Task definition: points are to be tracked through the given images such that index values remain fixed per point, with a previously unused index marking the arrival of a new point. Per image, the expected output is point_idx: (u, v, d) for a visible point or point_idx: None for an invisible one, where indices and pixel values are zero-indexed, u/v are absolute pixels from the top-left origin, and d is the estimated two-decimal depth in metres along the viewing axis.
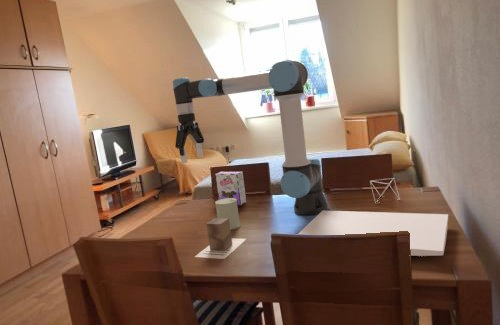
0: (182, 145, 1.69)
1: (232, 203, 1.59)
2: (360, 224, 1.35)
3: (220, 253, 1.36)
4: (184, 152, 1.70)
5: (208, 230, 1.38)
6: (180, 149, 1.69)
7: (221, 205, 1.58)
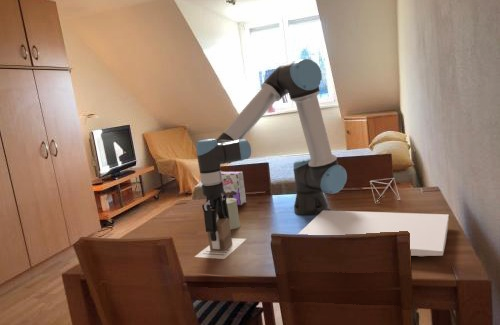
0: (214, 229, 1.35)
1: (232, 203, 1.59)
2: (360, 224, 1.35)
3: (220, 253, 1.36)
4: (216, 236, 1.36)
5: None
6: (212, 233, 1.36)
7: None
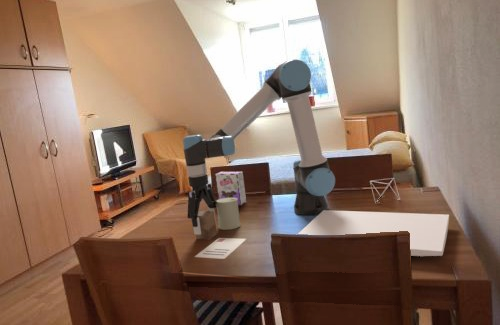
0: (195, 215, 1.46)
1: (233, 202, 1.59)
2: (360, 224, 1.35)
3: (220, 253, 1.36)
4: (197, 223, 1.48)
5: None
6: (193, 220, 1.47)
7: (222, 203, 1.59)
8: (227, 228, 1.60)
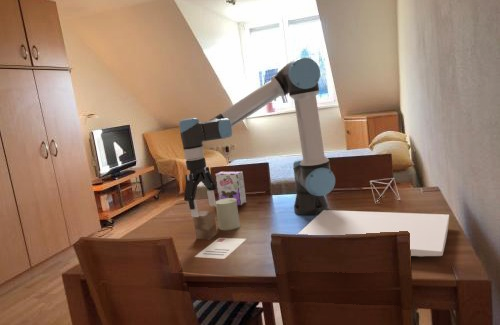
0: (192, 197, 1.45)
1: (232, 203, 1.59)
2: (360, 224, 1.35)
3: (220, 253, 1.36)
4: (194, 205, 1.46)
5: (195, 221, 1.52)
6: (190, 202, 1.45)
7: (221, 205, 1.58)
8: None
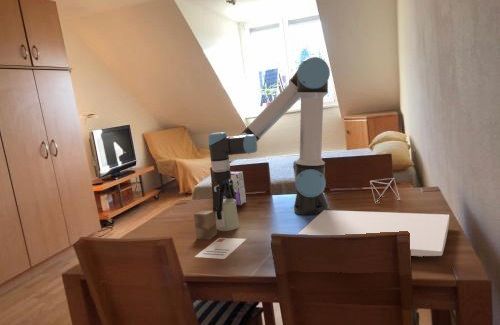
0: (220, 209, 1.56)
1: (231, 204, 1.58)
2: (360, 224, 1.35)
3: (220, 253, 1.36)
4: (222, 216, 1.57)
5: (195, 220, 1.53)
6: (218, 213, 1.56)
7: None
8: (227, 230, 1.59)
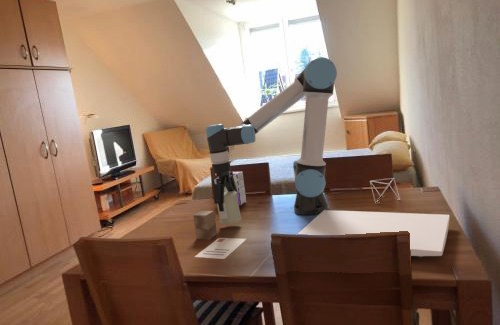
0: (221, 201, 1.56)
1: (233, 196, 1.59)
2: (361, 224, 1.35)
3: (220, 253, 1.36)
4: (224, 207, 1.58)
5: (195, 221, 1.53)
6: (219, 205, 1.57)
7: None
8: (229, 223, 1.59)
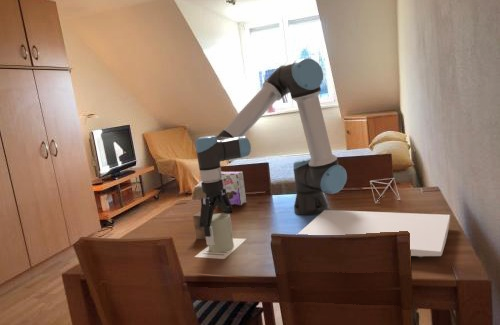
0: (208, 224, 1.32)
1: (225, 220, 1.36)
2: (361, 224, 1.35)
3: (220, 253, 1.36)
4: (210, 232, 1.33)
5: (194, 221, 1.52)
6: (205, 229, 1.32)
7: (212, 222, 1.35)
8: (219, 251, 1.37)
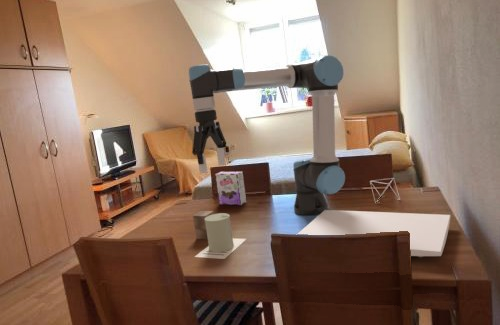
0: (201, 151, 1.32)
1: (225, 220, 1.36)
2: (361, 224, 1.35)
3: (220, 253, 1.36)
4: (203, 160, 1.33)
5: (194, 221, 1.52)
6: (198, 156, 1.32)
7: (212, 222, 1.35)
8: (219, 251, 1.37)
